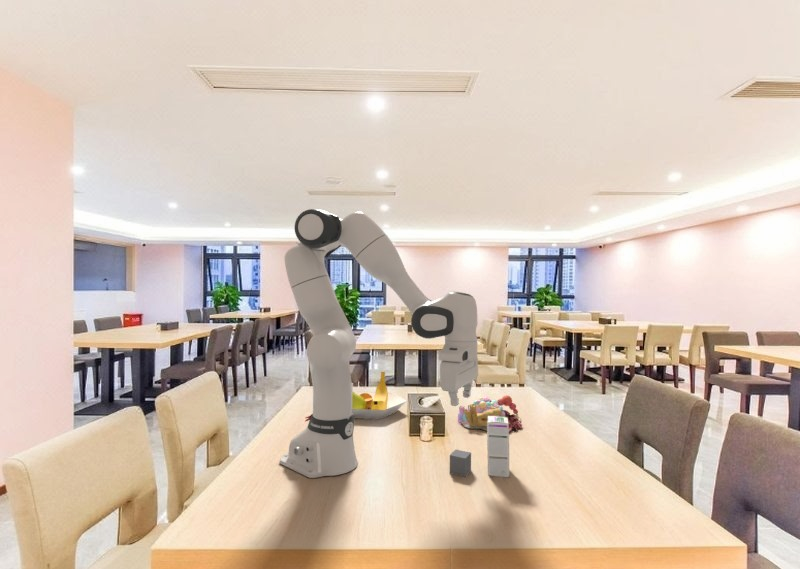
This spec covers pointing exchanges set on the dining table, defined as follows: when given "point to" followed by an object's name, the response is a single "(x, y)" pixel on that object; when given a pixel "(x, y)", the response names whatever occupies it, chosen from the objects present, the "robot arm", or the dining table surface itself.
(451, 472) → the block
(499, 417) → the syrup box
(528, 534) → the dining table surface
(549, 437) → the dining table surface
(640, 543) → the dining table surface
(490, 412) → the food platter
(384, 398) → the fruit
